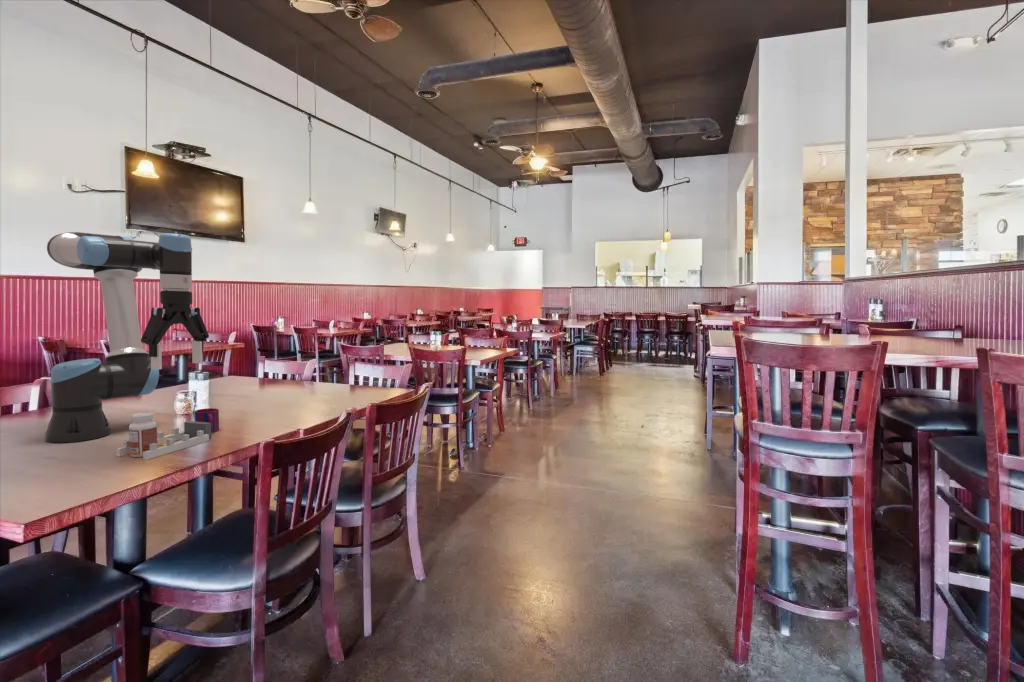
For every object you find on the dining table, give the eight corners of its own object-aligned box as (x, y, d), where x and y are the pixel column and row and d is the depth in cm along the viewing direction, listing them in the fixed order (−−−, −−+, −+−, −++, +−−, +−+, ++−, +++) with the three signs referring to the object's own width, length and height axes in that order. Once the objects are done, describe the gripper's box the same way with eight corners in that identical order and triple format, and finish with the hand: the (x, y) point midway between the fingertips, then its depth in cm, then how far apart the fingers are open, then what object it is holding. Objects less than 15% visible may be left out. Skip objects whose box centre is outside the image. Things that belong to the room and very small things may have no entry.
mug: (218, 427, 172) (217, 407, 171) (220, 434, 164) (220, 413, 163) (194, 430, 168) (194, 409, 168) (196, 436, 160) (195, 415, 159)
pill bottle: (159, 450, 145) (158, 411, 144) (155, 456, 139) (154, 415, 139) (132, 452, 142) (131, 413, 141) (127, 458, 137) (126, 417, 136)
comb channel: (116, 456, 139) (115, 437, 138) (187, 436, 160) (186, 420, 160) (146, 459, 136) (146, 441, 136) (214, 439, 157) (214, 423, 157)
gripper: (147, 289, 130) (149, 372, 132) (221, 291, 155) (222, 361, 156) (122, 288, 132) (125, 370, 134) (200, 291, 156) (201, 360, 158)
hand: (177, 366), depth 145 cm, fingers open, 13 cm apart
